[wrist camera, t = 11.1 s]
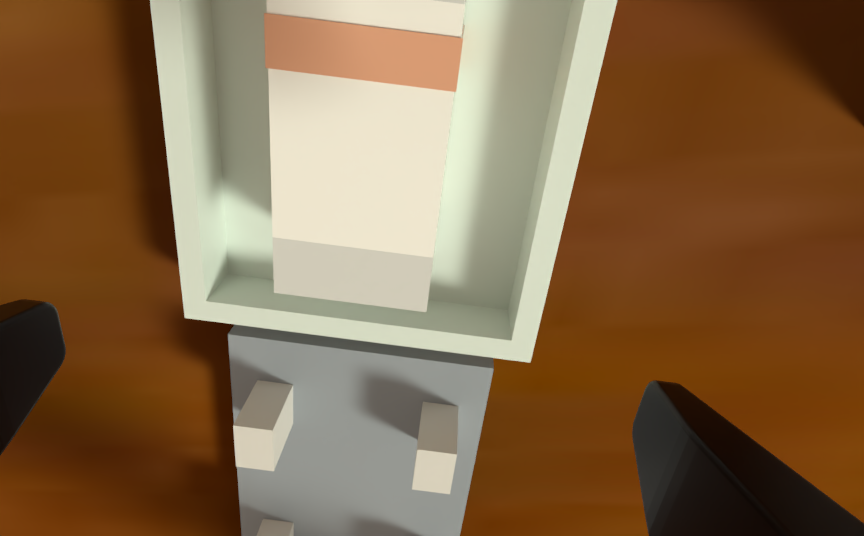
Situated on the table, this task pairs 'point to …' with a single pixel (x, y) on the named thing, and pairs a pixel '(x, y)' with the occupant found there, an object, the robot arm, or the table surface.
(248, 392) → the holder
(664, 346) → the table surface
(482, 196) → the tray
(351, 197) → the fuse
